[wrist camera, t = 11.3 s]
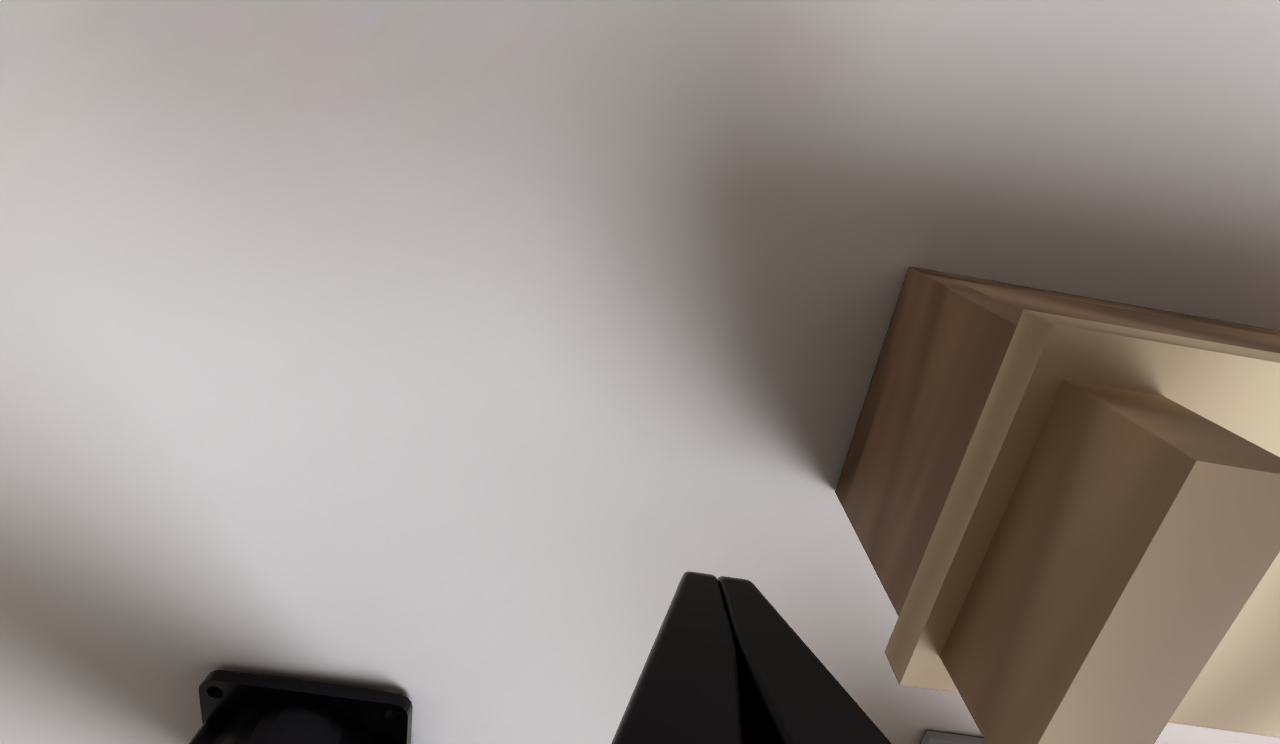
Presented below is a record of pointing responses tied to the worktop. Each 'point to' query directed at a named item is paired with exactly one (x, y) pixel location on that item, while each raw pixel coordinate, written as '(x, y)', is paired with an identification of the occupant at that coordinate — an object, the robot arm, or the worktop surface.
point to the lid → (1108, 543)
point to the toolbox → (956, 400)
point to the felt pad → (950, 738)
